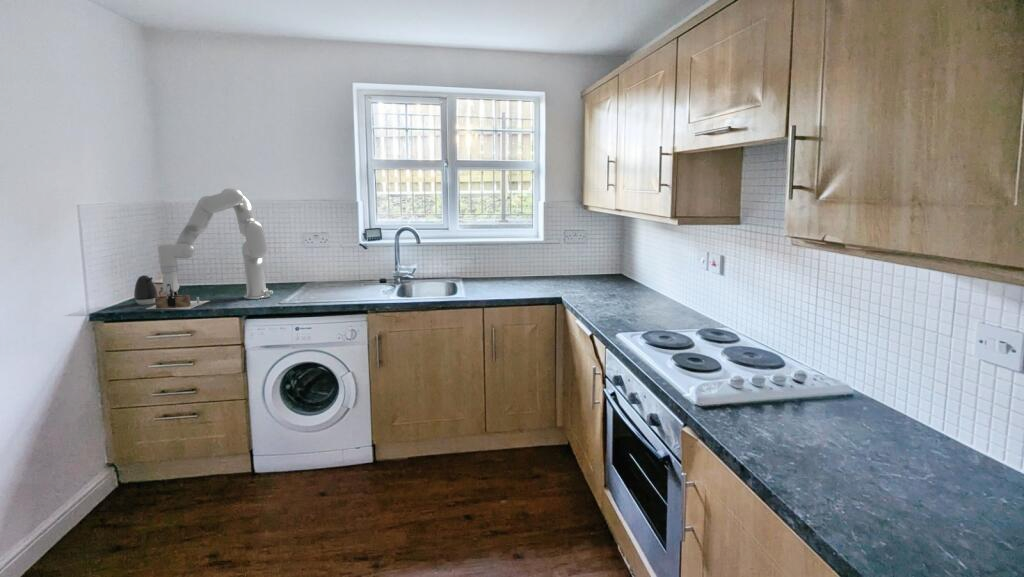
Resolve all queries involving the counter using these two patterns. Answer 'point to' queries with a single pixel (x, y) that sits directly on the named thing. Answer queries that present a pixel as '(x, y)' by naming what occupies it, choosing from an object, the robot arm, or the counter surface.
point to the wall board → (193, 304)
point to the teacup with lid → (160, 287)
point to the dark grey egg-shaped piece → (145, 291)
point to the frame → (179, 301)
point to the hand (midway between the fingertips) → (173, 304)
